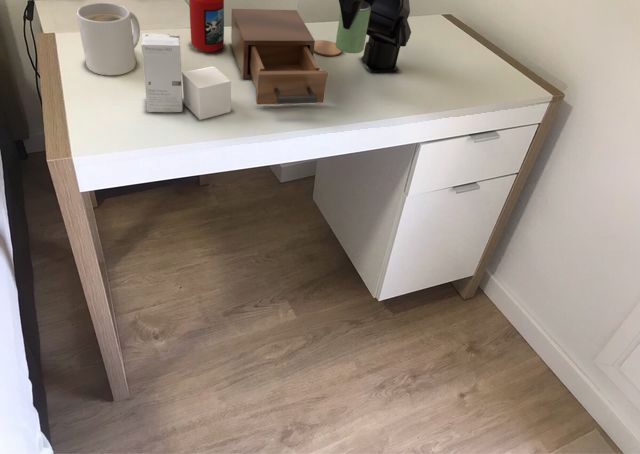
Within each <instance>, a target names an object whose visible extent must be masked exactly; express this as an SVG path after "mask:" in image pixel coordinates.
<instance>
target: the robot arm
mask: <svg viewBox="0 0 640 454" xmlns="http://www.w3.org/2000/svg"><path fill="white" fill-rule="evenodd" d="M364 1H366V2H367V3H369V5H370V6H371V12H370V18H369V23H368V28H367V34H366V36H368V41H365V44H364V49H363V55H362V56H361V60H362V62H363V64H364V65H365V66H366V67H367V69H368V70H369V72H371V73H397V72H399V68H398V66H397V62H398V57H399V53H400V50H401V47H407V44H408V42H409V40H410V39H411V38H410V37H411V34H412V30H411V27H410V24H409V20H408V19H409V16H410V14H411V8H410V7H411V6H410V0H338V3H339V9H340V11H341V15H342V22H343V28H345V29H347V30H348V29H350V27H351V25H352V23H353V22H354V20H355V18H356V16H357V14H358V12H359V10H360V8H361V6H362V4H363V2H364Z"/></svg>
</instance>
